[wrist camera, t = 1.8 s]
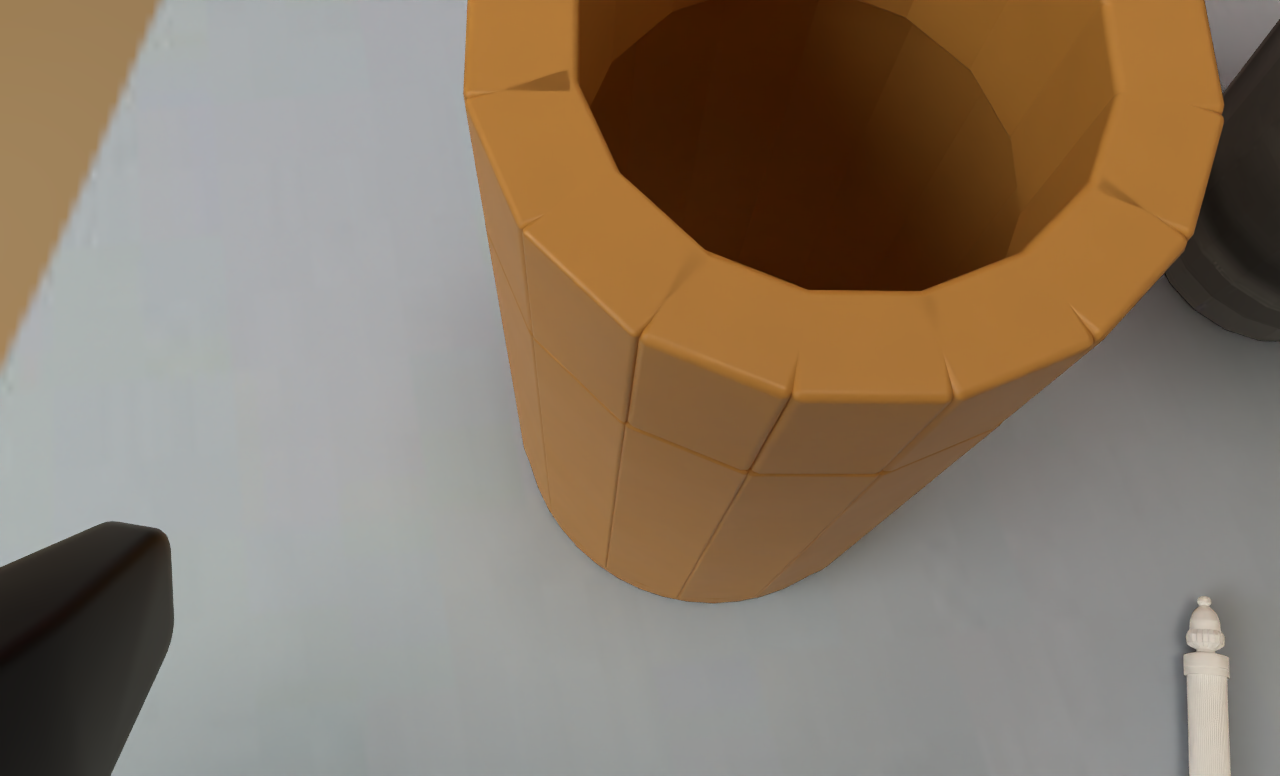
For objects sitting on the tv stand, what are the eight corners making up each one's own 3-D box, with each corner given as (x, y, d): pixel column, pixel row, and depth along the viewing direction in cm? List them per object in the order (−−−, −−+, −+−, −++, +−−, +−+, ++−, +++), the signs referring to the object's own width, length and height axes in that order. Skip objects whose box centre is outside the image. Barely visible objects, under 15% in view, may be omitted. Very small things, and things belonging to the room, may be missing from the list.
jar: (817, 662, 20) (1116, 529, 9) (465, 517, 21) (329, 216, 10) (931, 332, 22) (1292, -115, 11) (608, 206, 23) (639, -343, 12)
